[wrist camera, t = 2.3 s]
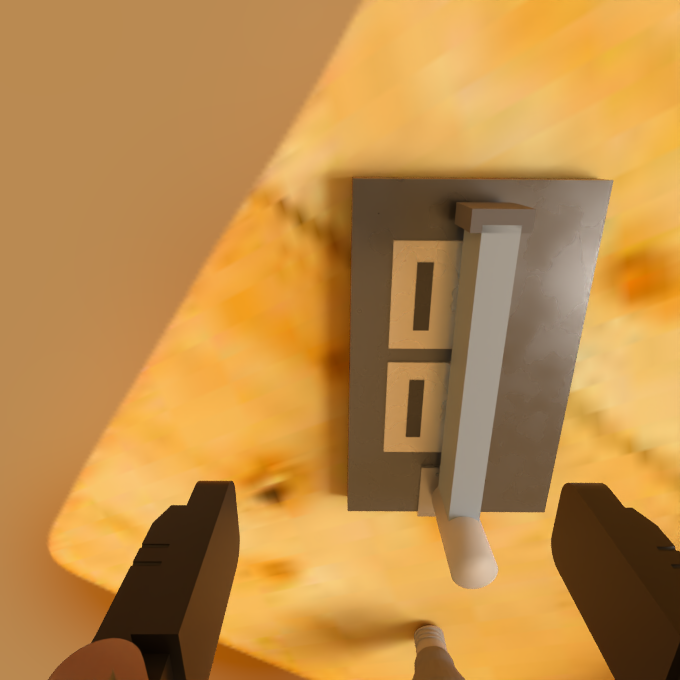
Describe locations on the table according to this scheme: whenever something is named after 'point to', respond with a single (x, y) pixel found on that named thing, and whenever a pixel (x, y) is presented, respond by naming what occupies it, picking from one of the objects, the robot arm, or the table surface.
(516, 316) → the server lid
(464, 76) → the table surface
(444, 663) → the light bulb
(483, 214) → the swing arm
